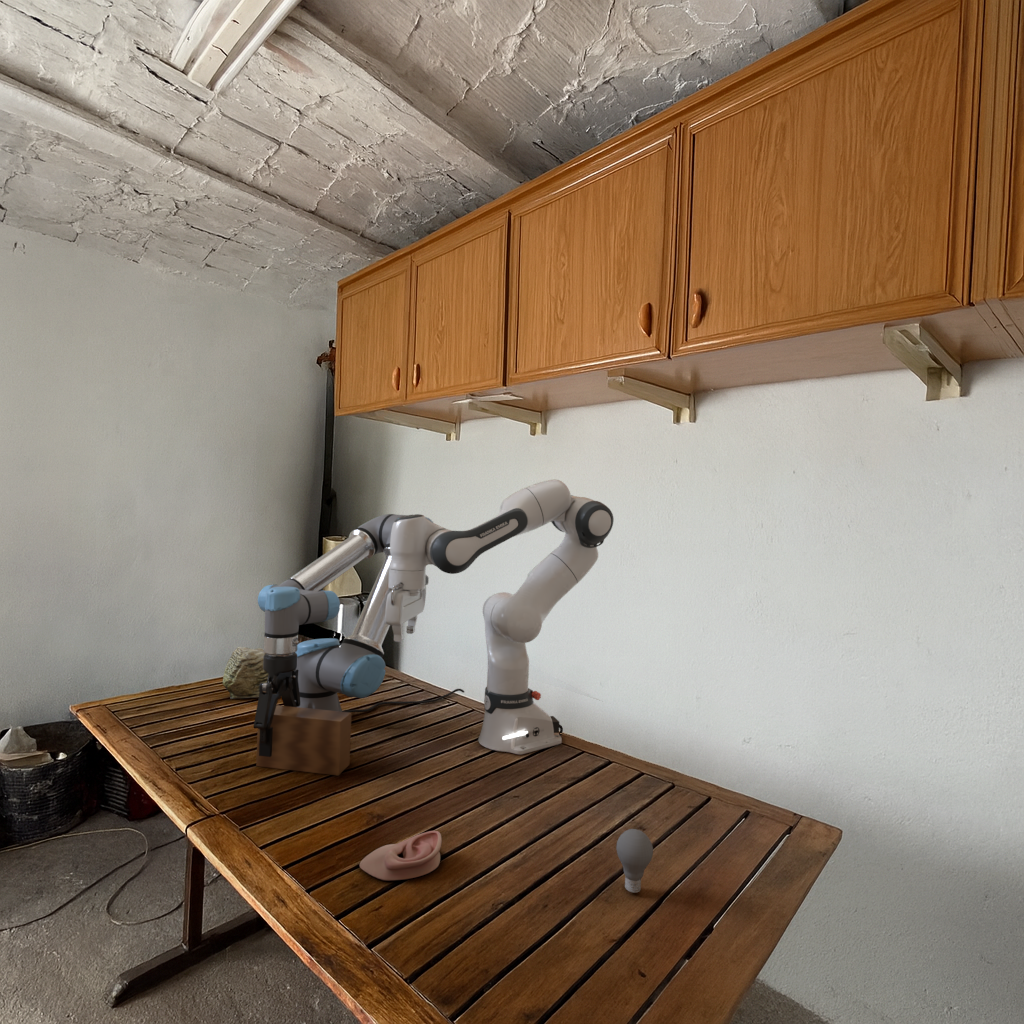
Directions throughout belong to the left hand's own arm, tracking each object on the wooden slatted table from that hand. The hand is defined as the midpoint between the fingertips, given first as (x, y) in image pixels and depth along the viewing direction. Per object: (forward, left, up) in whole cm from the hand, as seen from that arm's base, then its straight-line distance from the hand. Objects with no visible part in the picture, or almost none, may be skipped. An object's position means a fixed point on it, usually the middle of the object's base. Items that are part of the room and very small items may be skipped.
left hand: (277, 747), depth 150 cm
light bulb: (-13, +87, -4) cm, 88 cm away
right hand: (-22, +18, +26) cm, 39 cm away
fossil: (-22, -50, -4) cm, 55 cm away
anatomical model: (+8, +53, -4) cm, 53 cm away
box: (-3, +6, -4) cm, 8 cm away
